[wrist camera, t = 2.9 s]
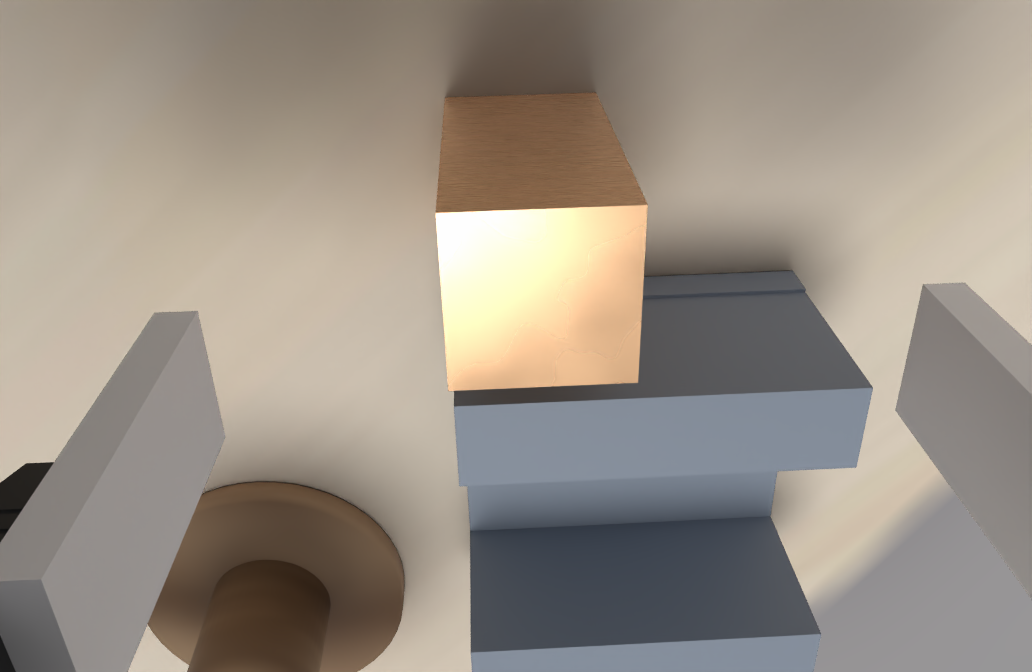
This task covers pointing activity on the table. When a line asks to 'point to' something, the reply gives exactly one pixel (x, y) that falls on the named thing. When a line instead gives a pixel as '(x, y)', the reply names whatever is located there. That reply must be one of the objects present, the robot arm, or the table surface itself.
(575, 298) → the tab
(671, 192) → the table surface
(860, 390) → the notch board
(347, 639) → the door knob
